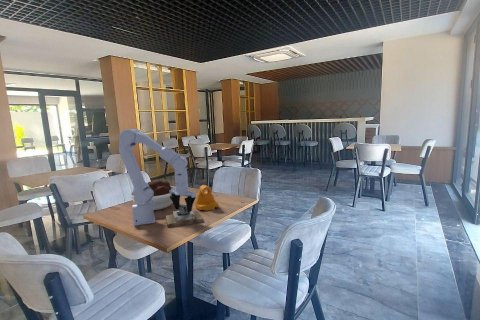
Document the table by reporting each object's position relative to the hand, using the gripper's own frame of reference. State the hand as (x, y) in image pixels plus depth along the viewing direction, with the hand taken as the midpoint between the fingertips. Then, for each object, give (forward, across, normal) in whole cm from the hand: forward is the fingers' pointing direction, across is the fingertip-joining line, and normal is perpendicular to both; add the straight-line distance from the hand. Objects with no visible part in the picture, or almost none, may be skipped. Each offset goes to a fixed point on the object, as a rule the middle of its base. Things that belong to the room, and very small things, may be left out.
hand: (183, 210), depth 123 cm
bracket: (+5, -1, +19) cm, 20 cm away
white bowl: (+5, -28, +8) cm, 29 cm away
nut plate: (+5, 0, 0) cm, 5 cm away
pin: (+5, 0, 0) cm, 5 cm away
